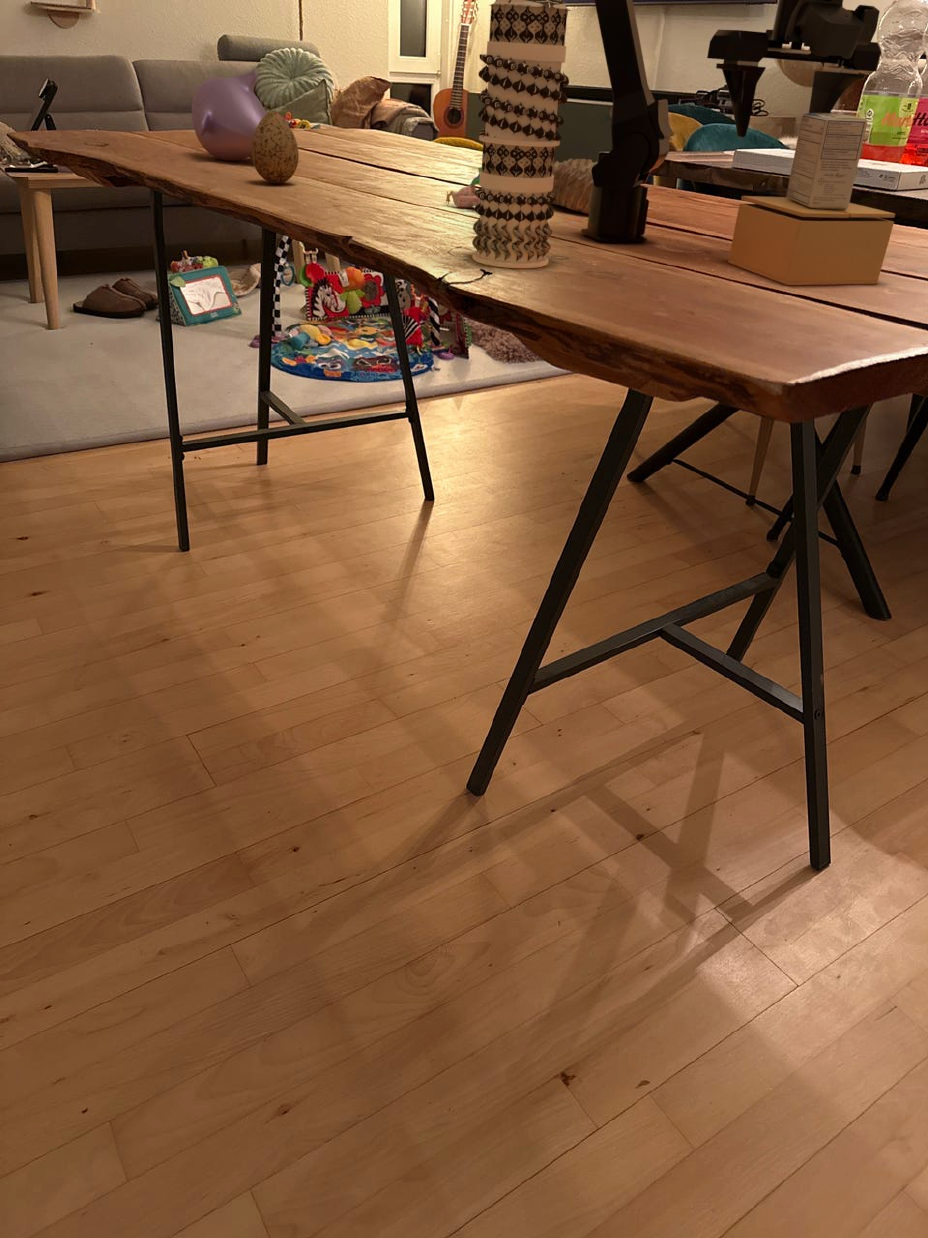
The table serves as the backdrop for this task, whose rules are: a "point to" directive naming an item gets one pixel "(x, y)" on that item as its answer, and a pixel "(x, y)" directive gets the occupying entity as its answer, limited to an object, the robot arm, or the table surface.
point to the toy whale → (227, 115)
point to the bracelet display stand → (520, 131)
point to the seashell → (573, 184)
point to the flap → (794, 207)
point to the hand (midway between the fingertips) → (776, 138)
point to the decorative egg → (274, 149)
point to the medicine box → (826, 160)
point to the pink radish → (466, 194)
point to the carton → (811, 245)
